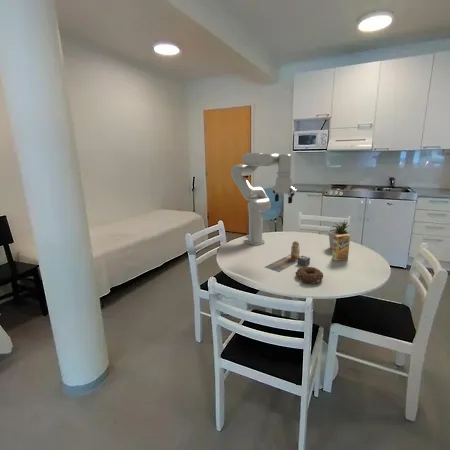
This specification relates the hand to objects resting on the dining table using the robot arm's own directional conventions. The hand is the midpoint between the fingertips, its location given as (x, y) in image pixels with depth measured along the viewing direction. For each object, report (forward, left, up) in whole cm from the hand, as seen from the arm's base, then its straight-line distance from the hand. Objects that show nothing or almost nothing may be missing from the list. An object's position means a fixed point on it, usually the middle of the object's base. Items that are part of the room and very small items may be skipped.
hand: (283, 202), depth 184 cm
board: (+13, -15, -33) cm, 39 cm away
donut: (+33, -24, -34) cm, 53 cm away
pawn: (+13, -4, -32) cm, 35 cm away
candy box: (+33, +14, -34) cm, 49 cm away
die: (+22, -10, -33) cm, 41 cm away
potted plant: (+24, +31, -34) cm, 52 cm away
